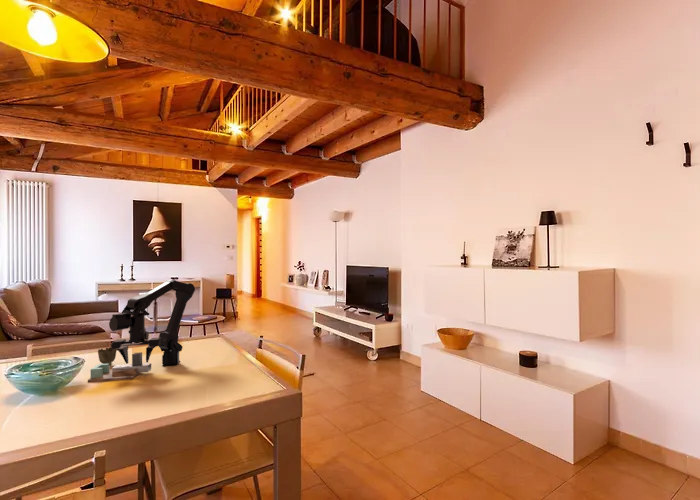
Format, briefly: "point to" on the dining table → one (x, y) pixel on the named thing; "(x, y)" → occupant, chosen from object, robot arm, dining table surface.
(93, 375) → the socket block
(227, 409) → the dining table surface
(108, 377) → the slide base
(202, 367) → the dining table surface
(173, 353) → the robot arm
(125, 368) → the grey t-shaped block
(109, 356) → the cup
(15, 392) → the dining table surface
